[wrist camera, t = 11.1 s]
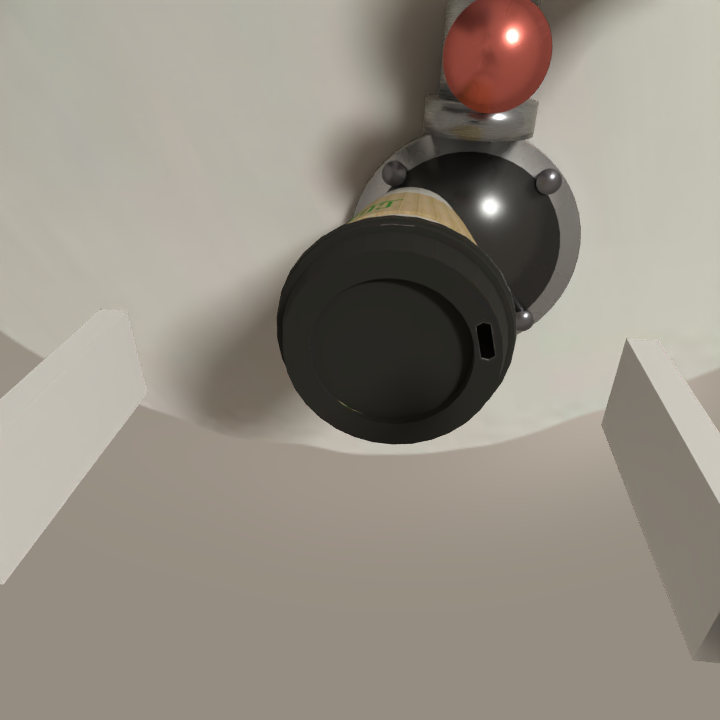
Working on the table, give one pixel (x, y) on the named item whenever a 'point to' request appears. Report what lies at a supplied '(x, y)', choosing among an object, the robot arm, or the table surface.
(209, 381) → the table surface
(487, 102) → the metal device with knob
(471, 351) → the coffee cup
